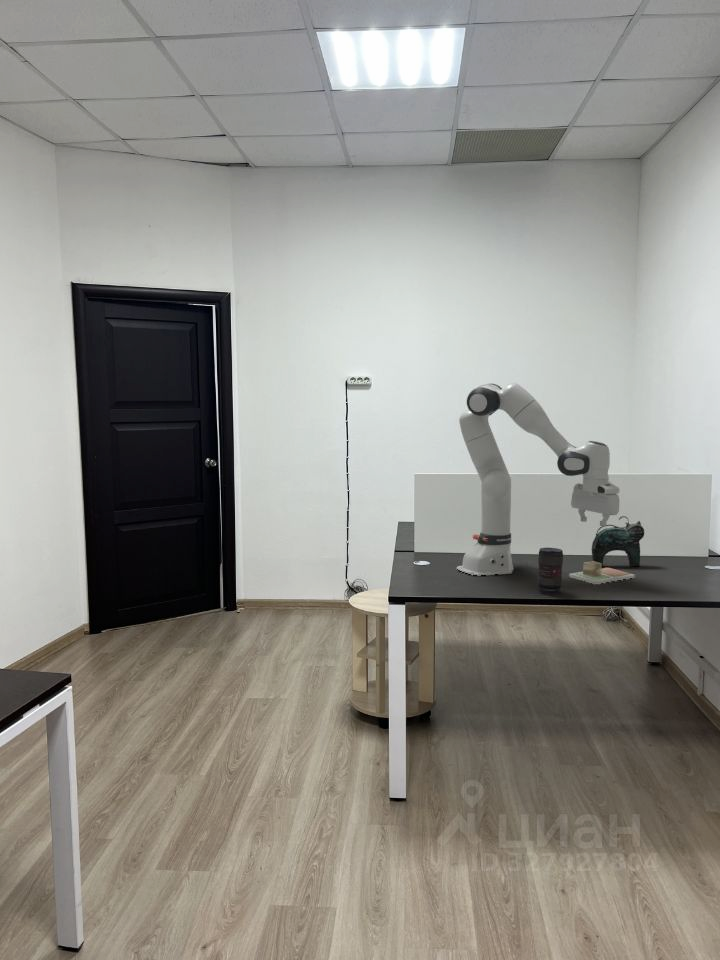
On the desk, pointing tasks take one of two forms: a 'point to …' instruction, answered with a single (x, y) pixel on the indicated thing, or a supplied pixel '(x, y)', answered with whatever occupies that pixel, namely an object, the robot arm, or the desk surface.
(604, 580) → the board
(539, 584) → the camera lens
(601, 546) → the ceramic cat
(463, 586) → the desk surface
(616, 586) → the desk surface
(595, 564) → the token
